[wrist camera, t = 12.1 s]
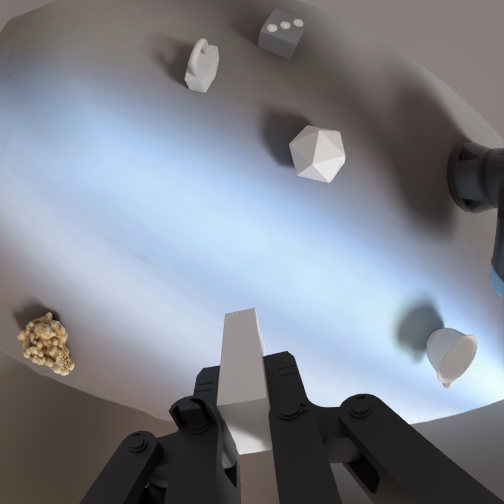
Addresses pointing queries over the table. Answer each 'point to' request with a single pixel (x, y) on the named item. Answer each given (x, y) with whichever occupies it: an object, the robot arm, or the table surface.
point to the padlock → (202, 66)
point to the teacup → (450, 353)
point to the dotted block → (282, 33)
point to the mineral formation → (47, 344)
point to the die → (317, 153)
